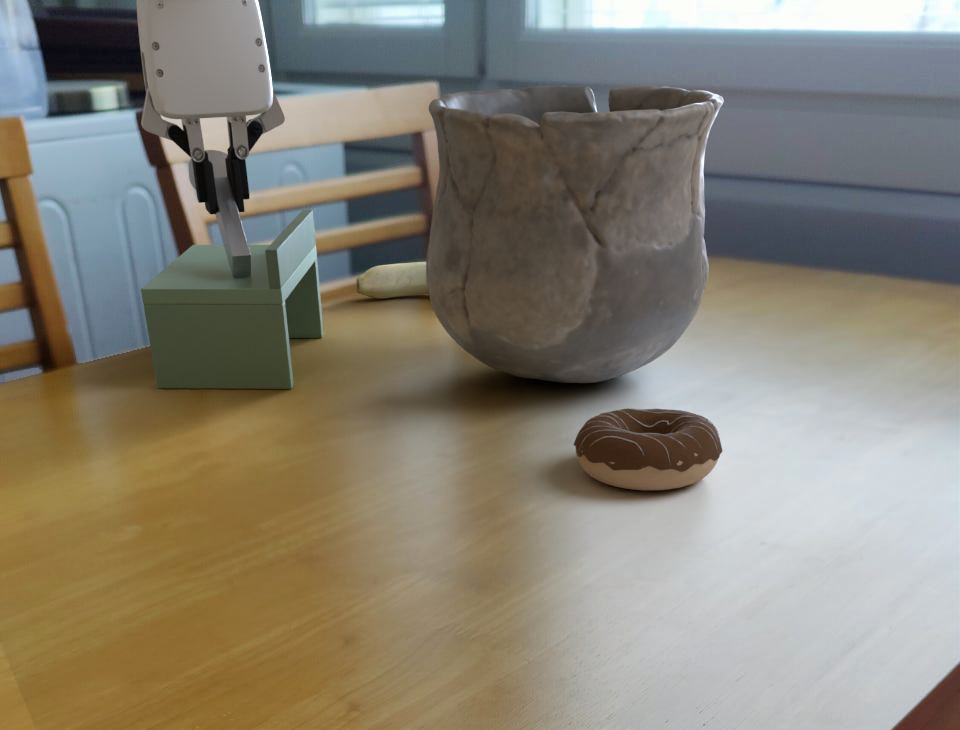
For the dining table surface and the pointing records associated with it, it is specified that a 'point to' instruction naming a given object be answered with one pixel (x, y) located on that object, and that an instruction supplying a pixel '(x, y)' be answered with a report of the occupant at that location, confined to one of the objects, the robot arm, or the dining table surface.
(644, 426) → the donut
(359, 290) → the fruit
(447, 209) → the pot
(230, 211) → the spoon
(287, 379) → the green toy chair
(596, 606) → the dining table surface
